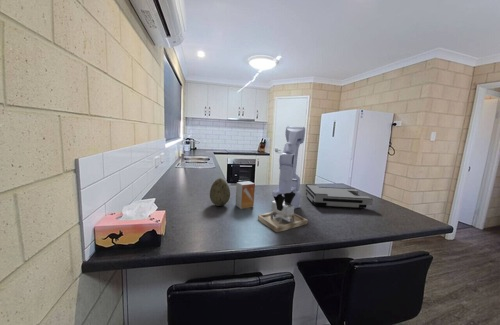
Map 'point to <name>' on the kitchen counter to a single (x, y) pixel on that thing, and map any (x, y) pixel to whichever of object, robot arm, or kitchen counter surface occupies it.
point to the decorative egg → (219, 192)
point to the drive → (283, 209)
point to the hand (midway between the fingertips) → (283, 208)
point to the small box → (245, 194)
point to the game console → (336, 197)
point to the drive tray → (281, 221)
